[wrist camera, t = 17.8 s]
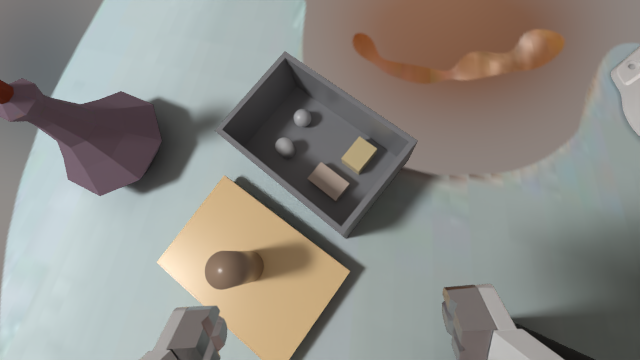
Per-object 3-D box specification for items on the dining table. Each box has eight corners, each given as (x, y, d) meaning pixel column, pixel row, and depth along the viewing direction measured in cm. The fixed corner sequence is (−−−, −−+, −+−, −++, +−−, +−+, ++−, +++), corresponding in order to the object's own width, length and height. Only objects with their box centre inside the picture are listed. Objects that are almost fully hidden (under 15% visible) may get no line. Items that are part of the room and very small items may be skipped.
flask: (96, 105, 53) (-57, 20, 33) (185, 102, 50) (76, 9, 31) (76, 200, 49) (-110, 165, 30) (171, 201, 47) (37, 165, 27)
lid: (231, 179, 47) (195, 159, 36) (350, 270, 41) (347, 276, 31) (168, 261, 45) (110, 264, 35) (283, 366, 40) (256, 407, 29)
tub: (297, 83, 48) (284, 51, 41) (407, 160, 43) (417, 140, 36) (238, 150, 47) (214, 130, 39) (345, 238, 42) (342, 235, 34)
